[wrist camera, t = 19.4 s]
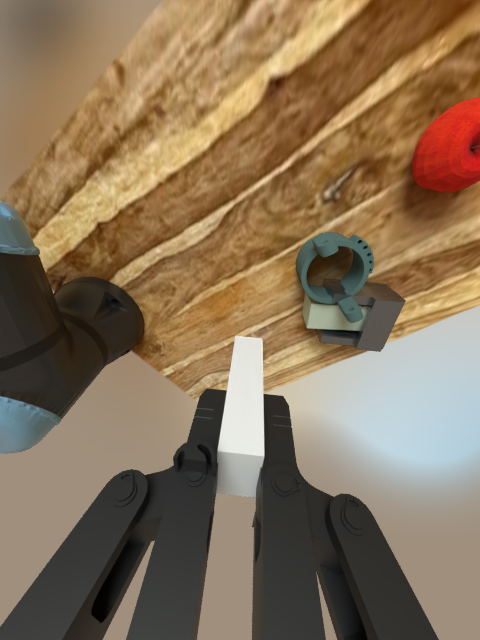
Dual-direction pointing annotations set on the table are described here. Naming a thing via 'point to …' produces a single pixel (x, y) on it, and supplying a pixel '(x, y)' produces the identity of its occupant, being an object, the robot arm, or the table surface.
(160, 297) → the table surface
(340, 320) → the block
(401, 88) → the table surface
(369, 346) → the endcap
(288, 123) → the table surface
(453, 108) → the apple
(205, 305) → the table surface
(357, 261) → the bracket
